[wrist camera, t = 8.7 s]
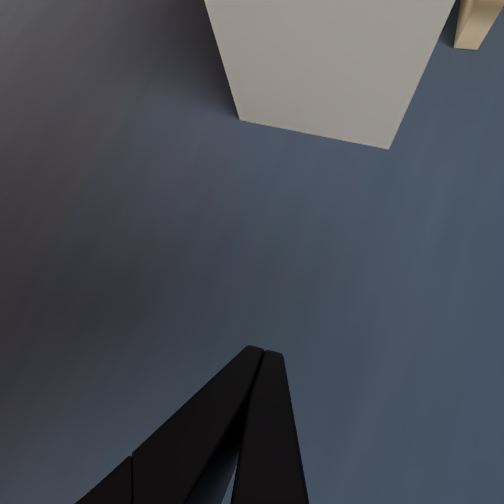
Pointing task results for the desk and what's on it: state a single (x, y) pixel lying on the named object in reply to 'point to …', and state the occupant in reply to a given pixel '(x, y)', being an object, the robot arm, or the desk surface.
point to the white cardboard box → (327, 62)
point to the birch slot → (475, 21)
